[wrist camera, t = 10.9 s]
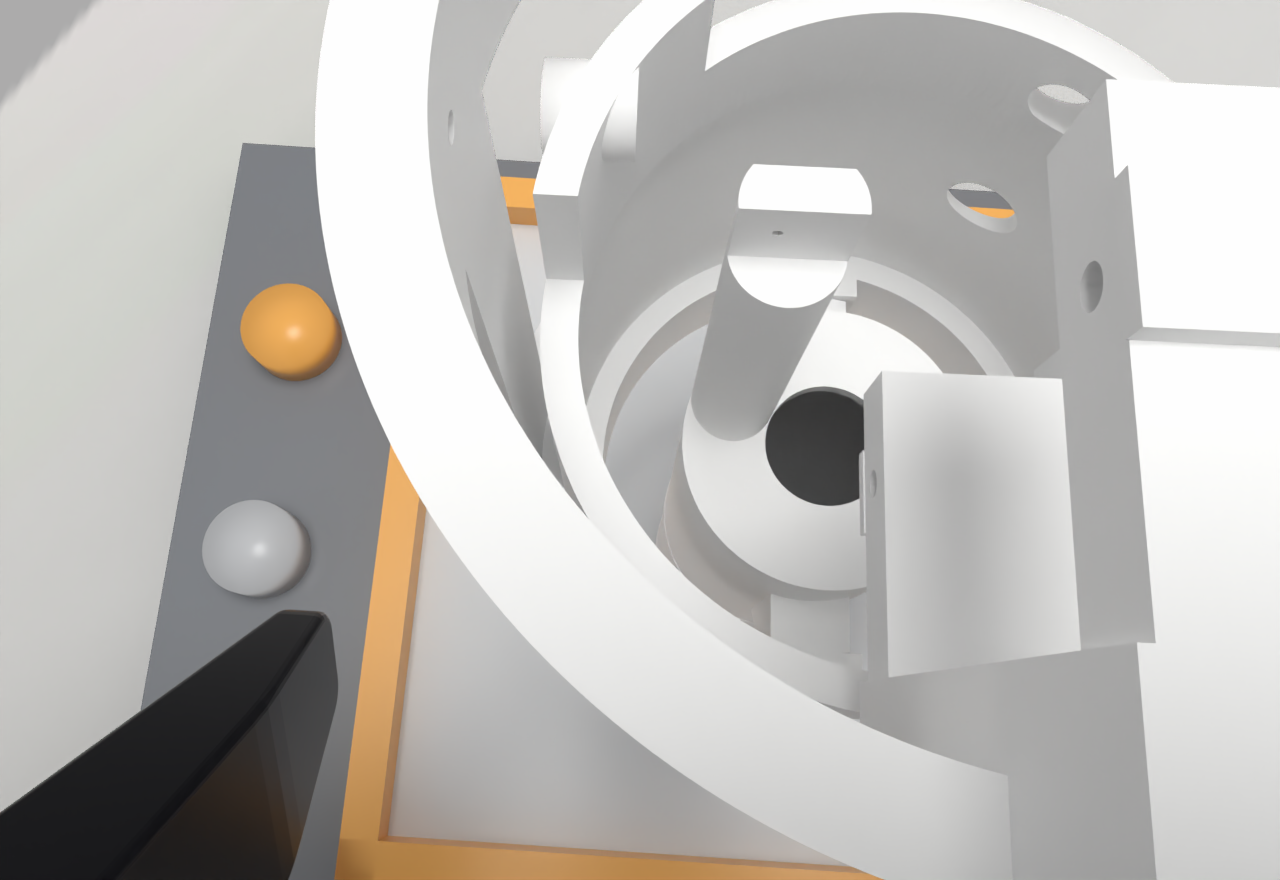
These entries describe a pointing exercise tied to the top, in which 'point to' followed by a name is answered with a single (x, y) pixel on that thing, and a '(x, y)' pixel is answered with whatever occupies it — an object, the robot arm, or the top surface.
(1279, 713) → the white piece
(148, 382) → the top surface
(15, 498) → the top surface
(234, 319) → the panel
